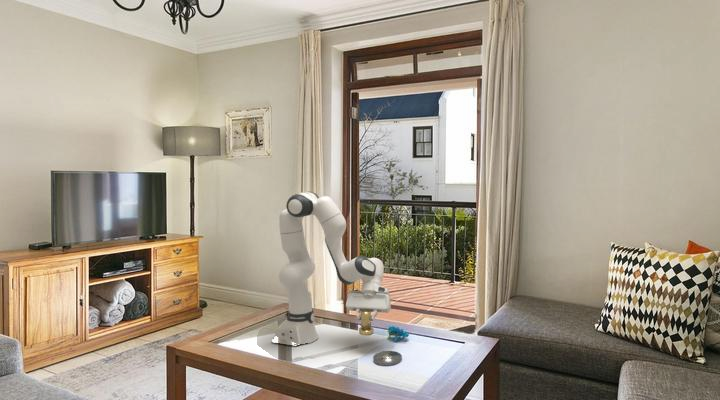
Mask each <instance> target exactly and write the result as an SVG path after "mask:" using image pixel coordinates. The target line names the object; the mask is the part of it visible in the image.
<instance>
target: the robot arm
mask: <svg viewBox="0 0 720 400" xmlns="http://www.w3.org/2000/svg"><path fill="white" fill-rule="evenodd" d="M311 215H314V217H315V218H316V219H317V220H318V222H319V224H320V226H321V228H322V230H323V233H324V243H325V246H326V248H327V250H328V252H329V255H330V257H331V260H332V263H333V264H334V267H335V271H336V275H337V278H338V280H339V281H340V282H341V283H342V284H343V285H347V286H350V285H353V284H354V283H355V282H357V281H359V280H361V281H362V284H361V290H351V291H349V292H348V294H347V299H346V303H345V308H346V309H347V310H348V311H355V312H356V314H357V316H356V317H357V320H358V321H361V311H362V310H369V311H371V313H372V314H371V316H370V321H371V322H374V321H375V318H376V316H378V314H379V313H385V314H386V313H387V314H388V313H390V312H391V308H392V303H391V299H390V298H391V294H390V291H389V290H388V288H386V287H384V286H382V281H383V278H384V272H385V270H384V268H385V267H384V263H383V261H382V260H381V259H379V258H377V257H371V258H370V257H366V256H364V255H358V256H356V257H355V258H352V259H351V260H349V261H348V260H347V259H346V257H345V255H344V252H343V249H342V247H341V240H342V237H343V235H344V234H345V232H346V229H347V221H346V218H345V217H344V215H343V213H342V212H341V209H340V208H339V207H338V205H337V204H336V203H335V201H334V200H333V199H332V198H331V197H330V196H327V195H324V196H320V197H319V195H318V194H317V193H315V192H313V191H301V192H299V193H297V194H295V193H294V194H293V195H292V196H290V197H289V198H288V200H287V201H286V209H283V210H282V211H280V213H279V218H278V219H279V225H278V226H279V234H280V241H281V247H282V250H283V252H284V253H286V255H287V257H288V261H289V262H288V263H286V264H285V265H284V266H283V267H282V268H281V269H280V270H279V273H278V281H279V282H280V284H281V285H283V287H284V289H285V293H286V295H287V300H288V308H289V309H288V311H287V312H286V313H285V314H284V317H286V318H285V319H284V321H282V322H281V323H280V324H279V325H278V326H277V327H276V330H275V335H276V336H277V337H279V338H282V339H285V340H289V341H292V342H294V343H296V344H294V345H298V344H304V345H306V344H305V343H308V344H311V343H313V342H315V341H317V340H318V339H317V338H319V335H318V333H317V330H316V325H315V312H314V308H313V301H312V293H311V291H309V289H308V287H307V283H306V282H307V280H308V279H309V278H310V277H311V276H312V275H313V273H314V272H315V269H316V264H315V261H314V260H313V259H312V258H311V256H310V253H309V251H308V248H307V244H306V240H305V239H306V238H305V233H304V227H303V226H304V225H303V219H304V217H308V216H311ZM316 339H317V340H316Z"/></svg>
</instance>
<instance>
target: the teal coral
mask: <svg viewBox="0 0 720 400" xmlns="http://www.w3.org/2000/svg"><path fill="white" fill-rule="evenodd" d="M387 333H388V336H387V340H390V338H391V336H393V337H395V338H394V340H393V342H394V343H397V341H398V338H399V337H400V338H401V337H402V338H403V337H404V339H405V338H409V337H410V334H409V332H408V331H406V330H405V331H404V328H401V329H400V327H399V326H396V327H395V325H391V326H390V325H389V327H388V328H387Z"/></svg>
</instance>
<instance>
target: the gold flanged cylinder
mask: <svg viewBox="0 0 720 400" xmlns="http://www.w3.org/2000/svg"><path fill="white" fill-rule="evenodd" d="M371 313H372V312H371V311H369V310H362V311H360V315H361V320H360V327H359V329H358V334H359V335H361V336H372V335H373V334H374V333H375V332H374V331H375V329H374V327H372V321H370V316H372V314H371Z"/></svg>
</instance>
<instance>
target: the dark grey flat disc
mask: <svg viewBox="0 0 720 400" xmlns="http://www.w3.org/2000/svg"><path fill="white" fill-rule="evenodd" d="M402 357H403V356H402V354H401V352H398V351H394V350H383V351H379V352H376V353H375V354H374V355H373V357H372V358H373V360H372V361H373V363H374V364H376V365H377V366H383V367H389V366H395V365H398V364H400V363H401V362H402V360H403V358H402Z"/></svg>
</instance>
